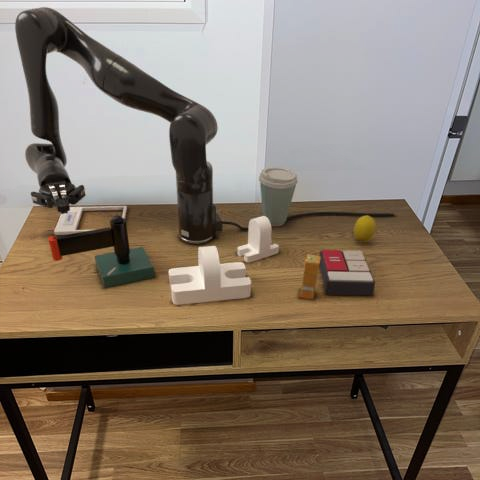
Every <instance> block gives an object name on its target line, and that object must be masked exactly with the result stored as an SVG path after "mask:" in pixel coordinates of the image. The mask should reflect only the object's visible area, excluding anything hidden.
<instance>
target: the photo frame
mask: <svg viewBox="0 0 480 480" xmlns="http://www.w3.org/2000/svg"><path fill="white" fill-rule="evenodd" d="M69 207H70V211H68V213H65V214H61V213H60V216H59V219H58V220H57V223H56V226H55V227H54V231H53V233H54V236H61V235H67V234H73V233H79V232H85V231H90V230H91V229H78V226H79V225H80V220H81V218H82V215H83V212H85V211H86V212H87V211H88V212H89V211H90V212H91V211H122V215H121V217H122V218H124V219H125V220H126V216H127V211H128V206H127V205H116V206H115V205H107V206H105V205H103V206H69Z"/></svg>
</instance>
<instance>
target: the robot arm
mask: <svg viewBox="0 0 480 480" xmlns="http://www.w3.org/2000/svg"><path fill="white" fill-rule="evenodd" d="M14 31H15V32H14V33H15V38H16V43H17V47H18V52H19V57H20V62H21V67H22V70H23V74H24V80H25V83H26V89H27V94H28V95H27V96H28V102H29V103H28V105H29V118H30V120H29V121H30V131H31V134H32V135H33V136H34V137H36V138H38V139H40V140H44V141H47V142H50V143H39V142H34V143H33V142H32V143H30V144H29V145H27V147H26V148H25V150H24V151H25V152H24V156H25V161H26V163H27V165H28V167H29V168H30V170H31V171H32V172H34V173H35V174H36V175H37V177H36V179H37V182H38V185H39V189H38V192H37V191H31V192H30V196H31V200H32V203H33V204H34V205H35V204H36V205H38V206H41V207H44V208H48V209H52V208H54V207H55V208H56V212H57V213H60V215H61V214H65V213H68V211H70V207H71V206H74V205H77V204H78V203H79V202H81V200H82V199H84V198H85V197H86V196H87V195H86V188H85V185H83V184H80V185H78V186H76V185H75V184H74V183H72V181H71V178H70V175H69V173H68V171H67V169H66V168H65V167H66V165H67V162H68V157H67V154H66V151H65V148H64V145H63V141H62V137H61V134H60V133H61V132H60V111H59V103H58V100H57V98H56V97H57V96H56V95H55V93H54V91H53V89H52V87H51V84H50V82H49V79H48V75H47V56H48V55H49V54H51V53H54V52H56V53H58V54H59V53H60V54H62V55H63V56H66V57H68V58H69V59H71V61H74V62H76V63H77V64H78V65H79V66H81V68H82V69H83V70H84V71H85V73H86V74H87V76H88V77H89V79H90V80H91V82H92V83H93V84H94V86H95V87H96V88H97V89H98V90H99V91H100V92H102V93H103V94H105V95H106V96H108V97H109V98H111V99H112V100H114V101H115V102H117V103H119V104H121V105H122V106H125V107H127V108H130V109H133V110H136V111H139V112H144V113H149V114H151V115H155V116H158V117H159V118H162V119H163V120H165V121H167V122H168V123H170V124H169V129H168V138H169V148H170V158H171V163H172V167H173V169H174V170H175V183H176V184H175V186H176V201H177V203H176V204H177V216H178V218H177V219H178V238H179V240H180V241H181V242H183V243H185V244H188V245H203V244H208V243H209V242H211V241H212V240H214V239H217V233H219V232H223V225H231V226H234V227H237V228H238V229H239V230H243V231H248V229H249V227H244V226H241V225H239V224H238V223H237V222H233V221H224V220H222V218H221V217H220V215H219V213H218V212H217V206H216V204H215V203H214V180H213V179H214V177H213V176H214V170H213V169H214V167H213V165H212V163H211V162H210V161H208V160H207V148H206V147H207V145H209V143H210V142H211V141H212V140H214V139H215V137H216V136H217V133H218V130H219V128H218V122H217V119H216V117H215V115H214V113H212V111H211V110H210V109H208V108H207V107H205V106H204V105H203V104H201V103H199V102H197V101H194V100H193V99H190V98H189V97H187V96H184V95H182V94H181V93H179V92H177V91H175V90H173V89H172V88H170V87H168V86H167V85H165V84H164V83H162V82H161V81H160V80H158V79H157V78H155V77H153V76H152V75H151V74H149V73H147V72H146V71H144V70H143V69H141V68H139V67H138V66H137V65H136V64H134V63H132V62H131V61H129V60H128V59H126V58H125V57H123V56H121V55H120V54H119V53H116V52H115V51H113V50H112V49H111V48H109V47H107V46H105V45H104V44H102V43H101V42H99V41H97V40H96V39H94V38H93V37H91V36H90V35H88V33H86V32H84V31H83V30H82V29H81V28H79V27H78V26H77V25H76V24H75V23H73V22H72V21H71V20H69V19H68V18H67V17H65V16H64V15H63V14H62V13H60V12H59V11H58V10H56V9H54V8H52V7H45V6H42V7H36V8H35V7H34V8H30V9H24V10H22V11H21V12H19V13H18V14H17V16H16V18H15V22H14ZM70 205H71V206H70ZM316 215H318V216H319V215H347V216H348V215H349V216H366V215H369V216H370V217H372V216H373V217H376V216H377V217H383V216H384V217H393V216H395V213H394V212H355V211H354V212H352V211H314V212H313V211H312V212H304V213H299V214H294V215H289V216H287V219H286V221H288V220H292V219H296V218H301V217H306V216H316Z"/></svg>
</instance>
